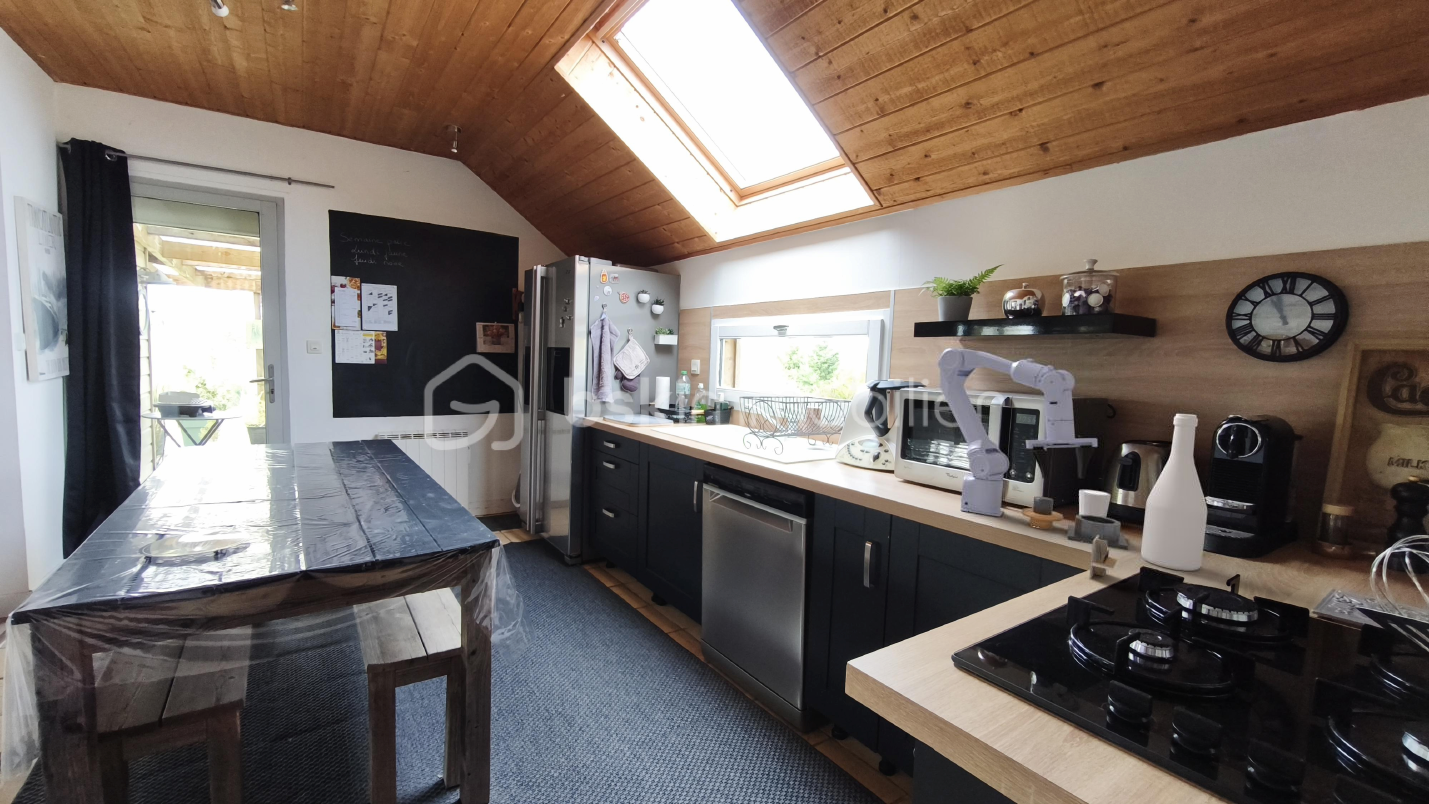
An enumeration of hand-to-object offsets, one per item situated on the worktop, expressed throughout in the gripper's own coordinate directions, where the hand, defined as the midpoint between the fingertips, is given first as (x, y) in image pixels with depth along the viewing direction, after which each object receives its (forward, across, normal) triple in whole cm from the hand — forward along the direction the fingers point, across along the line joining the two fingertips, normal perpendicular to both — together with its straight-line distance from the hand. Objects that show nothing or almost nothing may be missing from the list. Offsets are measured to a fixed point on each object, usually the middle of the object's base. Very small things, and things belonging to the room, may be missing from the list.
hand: (1063, 478), depth 138 cm
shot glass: (+12, +10, +17) cm, 23 cm away
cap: (+12, -5, +2) cm, 13 cm away
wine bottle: (+16, +13, -17) cm, 27 cm away
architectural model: (+15, -4, -32) cm, 36 cm away
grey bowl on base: (+13, +5, -4) cm, 15 cm away
